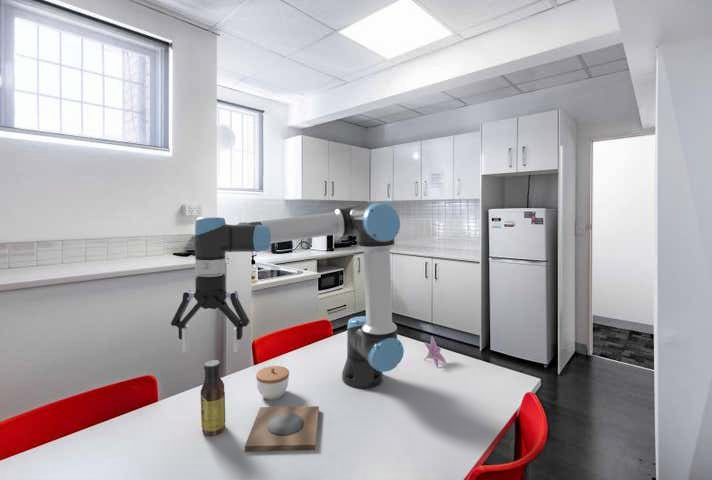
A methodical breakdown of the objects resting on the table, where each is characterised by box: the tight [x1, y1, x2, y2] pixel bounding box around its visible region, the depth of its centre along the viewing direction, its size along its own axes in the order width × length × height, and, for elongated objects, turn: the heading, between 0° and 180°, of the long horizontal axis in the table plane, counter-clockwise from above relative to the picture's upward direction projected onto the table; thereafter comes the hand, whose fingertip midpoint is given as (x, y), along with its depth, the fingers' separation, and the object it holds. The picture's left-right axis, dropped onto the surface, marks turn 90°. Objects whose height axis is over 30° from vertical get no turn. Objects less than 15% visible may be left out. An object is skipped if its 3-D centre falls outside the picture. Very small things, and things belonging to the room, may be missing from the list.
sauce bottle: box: [200, 359, 226, 436], centre depth 98 cm, size 7×6×20 cm
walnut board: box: [244, 405, 320, 452], centre depth 100 cm, size 18×18×2 cm
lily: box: [423, 335, 447, 369], centre depth 146 cm, size 12×12×10 cm
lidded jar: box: [255, 365, 290, 401], centre depth 118 cm, size 11×11×9 cm
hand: (211, 350), depth 97 cm, fingers open, 13 cm apart
